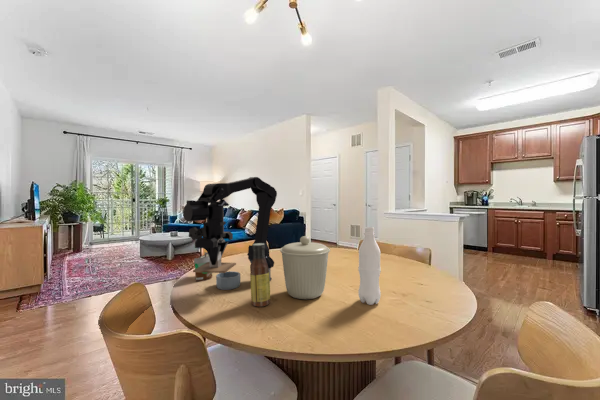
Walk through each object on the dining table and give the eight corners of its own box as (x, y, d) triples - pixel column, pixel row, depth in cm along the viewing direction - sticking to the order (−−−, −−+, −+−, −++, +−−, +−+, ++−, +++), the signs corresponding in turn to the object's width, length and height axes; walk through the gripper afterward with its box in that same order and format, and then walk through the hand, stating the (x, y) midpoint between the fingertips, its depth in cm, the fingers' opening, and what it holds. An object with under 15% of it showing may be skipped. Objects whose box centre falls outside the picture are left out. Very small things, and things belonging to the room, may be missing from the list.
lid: (236, 264, 100) (235, 249, 100) (224, 273, 89) (224, 256, 89) (207, 263, 101) (207, 248, 101) (192, 272, 90) (192, 255, 90)
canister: (328, 306, 88) (328, 241, 87) (274, 302, 91) (274, 239, 90) (331, 287, 106) (331, 233, 105) (286, 284, 109) (285, 232, 108)
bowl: (243, 282, 111) (243, 271, 111) (235, 290, 102) (235, 278, 102) (221, 281, 112) (221, 271, 112) (212, 289, 103) (212, 277, 103)
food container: (209, 282, 111) (208, 258, 111) (194, 282, 112) (193, 258, 111) (218, 274, 124) (218, 252, 124) (205, 273, 124) (205, 252, 124)
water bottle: (368, 308, 86) (368, 229, 85) (354, 300, 92) (353, 227, 92) (385, 303, 89) (385, 227, 89) (370, 296, 96) (370, 225, 95)
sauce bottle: (273, 301, 92) (273, 242, 91) (265, 309, 86) (264, 246, 85) (256, 299, 94) (255, 241, 93) (246, 306, 88) (246, 245, 87)
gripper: (205, 216, 105) (205, 257, 105) (178, 221, 86) (179, 270, 87) (233, 217, 104) (233, 257, 104) (212, 222, 85) (212, 271, 86)
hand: (215, 263), depth 95 cm, fingers closed on lid, 3 cm apart
